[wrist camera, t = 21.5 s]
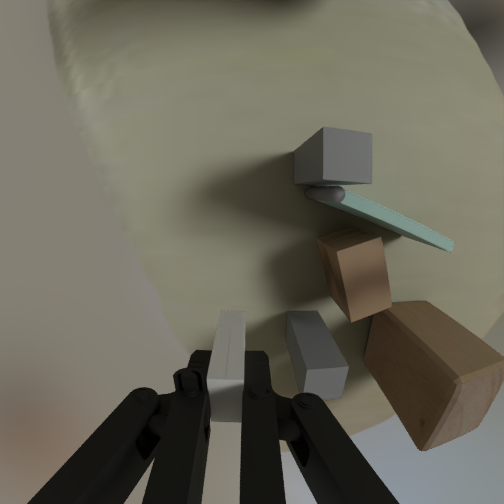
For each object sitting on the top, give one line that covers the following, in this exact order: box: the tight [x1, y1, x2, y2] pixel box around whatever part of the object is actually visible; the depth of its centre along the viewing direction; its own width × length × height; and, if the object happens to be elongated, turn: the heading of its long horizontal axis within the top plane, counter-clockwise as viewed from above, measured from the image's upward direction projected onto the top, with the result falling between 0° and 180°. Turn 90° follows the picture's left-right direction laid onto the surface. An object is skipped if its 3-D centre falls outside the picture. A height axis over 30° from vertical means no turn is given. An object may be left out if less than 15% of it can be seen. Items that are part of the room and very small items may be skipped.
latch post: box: [286, 311, 349, 400], centre depth 30 cm, size 4×4×13 cm
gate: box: [305, 186, 455, 253], centre depth 28 cm, size 15×1×10 cm, turn 72°
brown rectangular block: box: [317, 227, 392, 323], centre depth 30 cm, size 8×5×8 cm, turn 17°
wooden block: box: [364, 301, 504, 451], centre depth 27 cm, size 10×10×20 cm
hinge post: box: [294, 127, 372, 186], centre depth 25 cm, size 4×4×13 cm
